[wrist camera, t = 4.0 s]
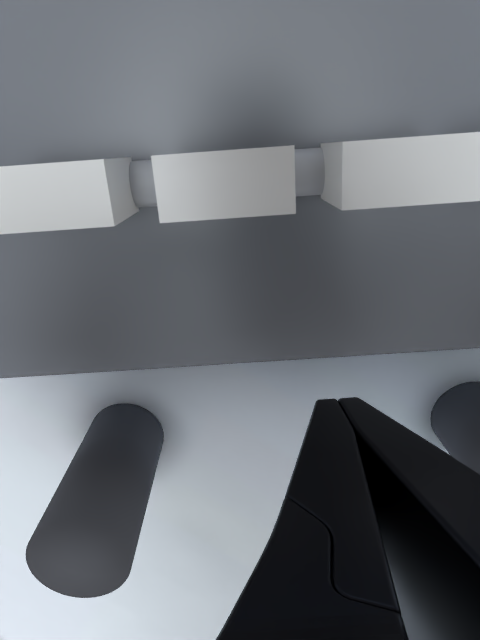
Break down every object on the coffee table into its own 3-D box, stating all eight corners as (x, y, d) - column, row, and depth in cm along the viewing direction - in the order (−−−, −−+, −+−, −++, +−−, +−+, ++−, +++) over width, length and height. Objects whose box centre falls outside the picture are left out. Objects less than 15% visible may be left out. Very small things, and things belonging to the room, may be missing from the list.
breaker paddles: (618, 175, 12) (737, 183, 9) (-11, 219, 13) (-87, 240, 10) (630, 120, 12) (761, 111, 9) (-25, 168, 12) (-108, 174, 9)
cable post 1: (167, 462, 19) (138, 595, 13) (97, 466, 19) (39, 600, 13) (158, 401, 18) (122, 517, 12) (84, 405, 18) (14, 523, 12)
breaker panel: (588, 316, 16) (685, 362, 13) (6, 354, 17) (-55, 408, 13) (683, -90, 12) (865, -188, 9) (-102, -26, 13) (-235, -95, 9)
